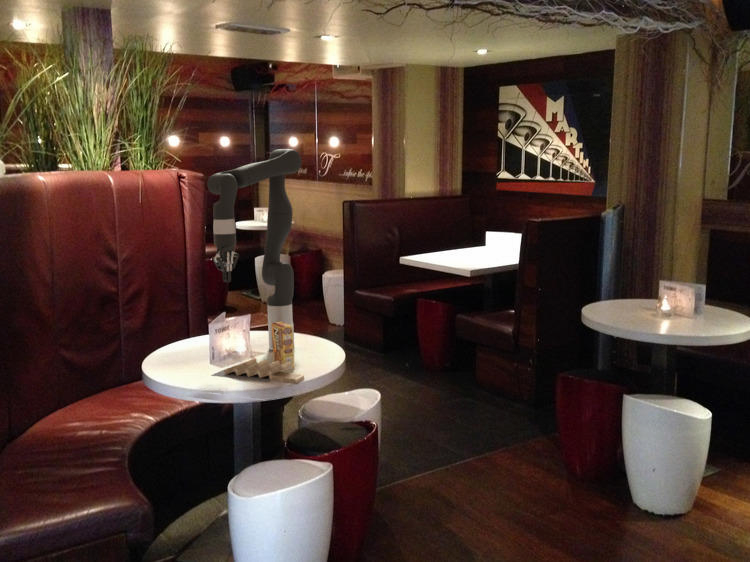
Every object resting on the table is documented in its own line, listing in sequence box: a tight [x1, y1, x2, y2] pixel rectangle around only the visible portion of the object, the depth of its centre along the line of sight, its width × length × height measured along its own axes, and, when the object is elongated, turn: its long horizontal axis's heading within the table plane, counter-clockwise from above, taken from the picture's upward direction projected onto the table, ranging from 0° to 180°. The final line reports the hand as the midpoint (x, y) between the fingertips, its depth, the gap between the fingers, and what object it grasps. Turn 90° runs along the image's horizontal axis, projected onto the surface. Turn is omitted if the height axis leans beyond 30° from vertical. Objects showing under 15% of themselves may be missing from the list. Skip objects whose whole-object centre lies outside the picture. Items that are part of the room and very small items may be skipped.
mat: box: [210, 368, 272, 383], centre depth 238 cm, size 10×22×1 cm, turn 66°
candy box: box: [271, 322, 295, 371], centre depth 246 cm, size 9×4×15 cm, turn 33°
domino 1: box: [223, 358, 258, 375], centre depth 238 cm, size 2×5×10 cm
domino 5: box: [269, 371, 305, 384], centre depth 231 cm, size 2×5×10 cm
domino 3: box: [247, 361, 280, 377], centre depth 235 cm, size 2×5×10 cm
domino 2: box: [235, 359, 269, 376], centre depth 236 cm, size 2×5×10 cm
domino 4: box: [258, 362, 292, 378], centre depth 233 cm, size 2×5×10 cm
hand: (227, 281), depth 250 cm, fingers closed
